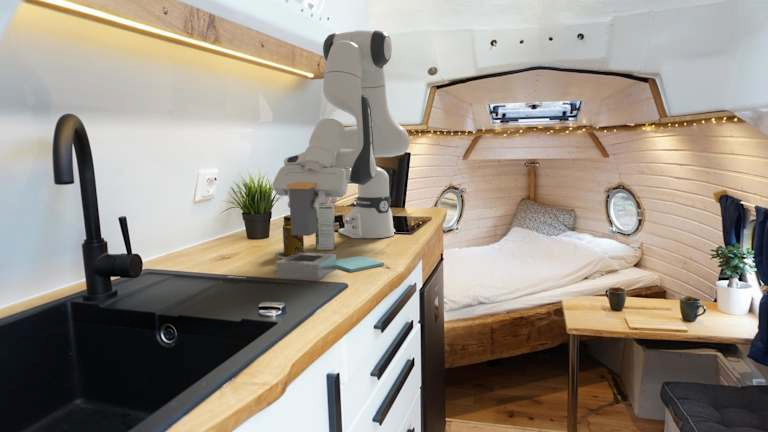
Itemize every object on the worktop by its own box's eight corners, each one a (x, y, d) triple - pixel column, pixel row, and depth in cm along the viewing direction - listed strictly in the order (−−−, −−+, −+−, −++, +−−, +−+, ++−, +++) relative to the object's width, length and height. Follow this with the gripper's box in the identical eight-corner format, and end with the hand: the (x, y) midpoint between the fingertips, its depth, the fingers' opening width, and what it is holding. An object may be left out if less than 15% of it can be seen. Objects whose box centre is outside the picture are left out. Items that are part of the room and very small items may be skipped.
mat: (328, 264, 142) (328, 261, 142) (360, 258, 149) (360, 255, 149) (350, 272, 134) (350, 269, 134) (383, 265, 141) (383, 262, 140)
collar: (297, 266, 141) (297, 252, 140) (336, 268, 137) (336, 254, 137) (276, 277, 130) (275, 262, 129) (318, 280, 127) (317, 264, 126)
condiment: (307, 256, 153) (305, 216, 151) (278, 259, 150) (276, 218, 148) (302, 251, 160) (300, 213, 158) (275, 254, 157) (273, 215, 155)
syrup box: (317, 246, 167) (315, 202, 164) (335, 246, 167) (334, 202, 165) (315, 250, 161) (314, 204, 159) (334, 249, 161) (333, 204, 159)
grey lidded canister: (299, 230, 136) (297, 182, 134) (319, 231, 134) (317, 182, 132) (289, 235, 131) (286, 184, 128) (309, 236, 129) (307, 185, 127)
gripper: (356, 174, 137) (343, 216, 130) (288, 173, 144) (272, 213, 136) (349, 158, 132) (336, 201, 125) (279, 158, 139) (262, 198, 131)
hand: (302, 207), depth 131 cm, fingers closed on grey lidded canister, 5 cm apart
